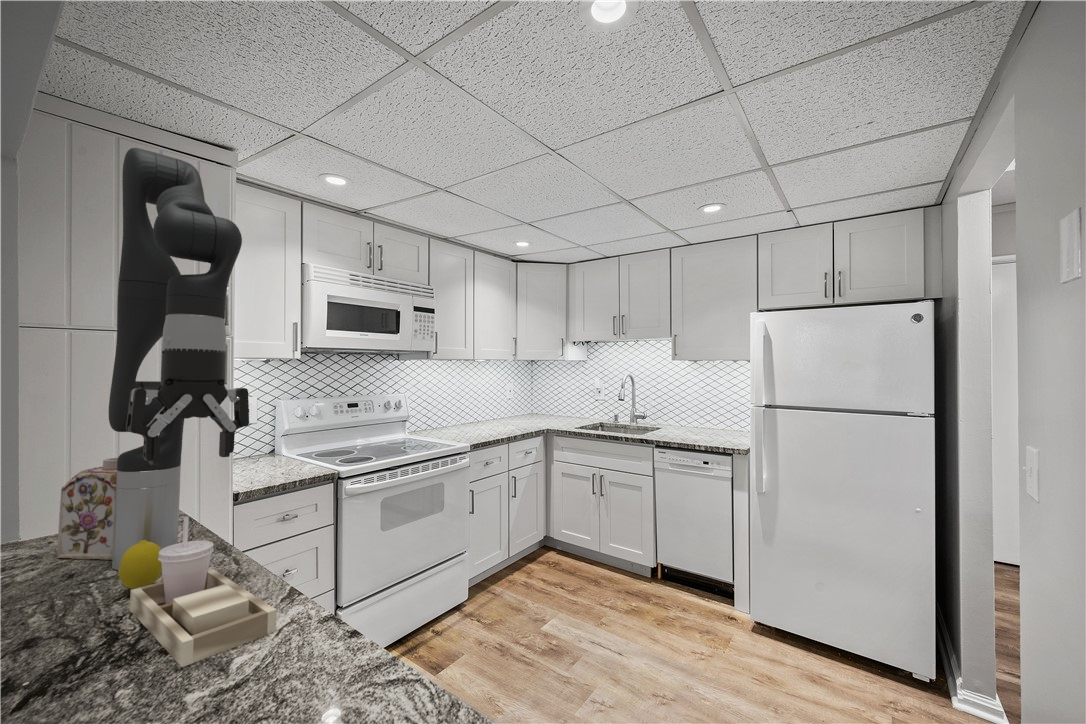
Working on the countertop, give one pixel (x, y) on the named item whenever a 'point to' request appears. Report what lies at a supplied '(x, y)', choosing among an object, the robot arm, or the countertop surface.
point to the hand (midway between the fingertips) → (190, 460)
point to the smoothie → (185, 566)
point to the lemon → (140, 565)
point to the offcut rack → (208, 641)
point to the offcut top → (210, 608)
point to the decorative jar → (88, 513)
